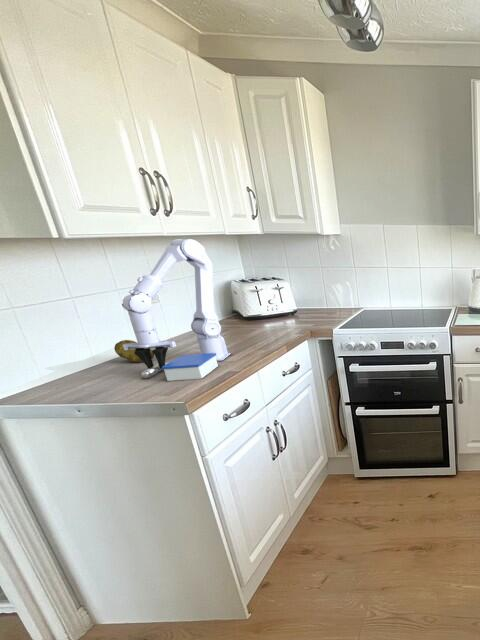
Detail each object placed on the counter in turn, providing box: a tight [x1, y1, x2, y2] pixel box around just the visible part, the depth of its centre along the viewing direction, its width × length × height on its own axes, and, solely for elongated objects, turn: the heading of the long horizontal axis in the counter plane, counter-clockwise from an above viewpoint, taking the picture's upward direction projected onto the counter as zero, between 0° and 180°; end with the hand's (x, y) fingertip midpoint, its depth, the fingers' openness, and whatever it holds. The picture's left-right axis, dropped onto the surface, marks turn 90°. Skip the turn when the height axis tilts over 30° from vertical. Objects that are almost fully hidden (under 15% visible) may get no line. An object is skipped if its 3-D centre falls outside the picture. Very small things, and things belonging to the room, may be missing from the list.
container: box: [162, 353, 219, 382], centre depth 144 cm, size 15×11×5 cm
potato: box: [113, 339, 155, 363], centre depth 158 cm, size 8×13×8 cm, turn 65°
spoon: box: [141, 362, 169, 379], centre depth 146 cm, size 16×5×3 cm, turn 15°
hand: (157, 368), depth 146 cm, fingers open, 3 cm apart
